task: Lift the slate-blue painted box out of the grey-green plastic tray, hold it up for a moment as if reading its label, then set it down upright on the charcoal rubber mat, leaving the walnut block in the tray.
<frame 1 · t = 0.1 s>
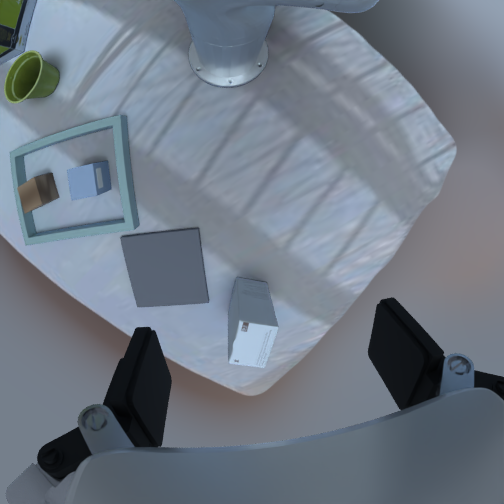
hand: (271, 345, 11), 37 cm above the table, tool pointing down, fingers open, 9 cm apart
mat: (165, 269, 49), on the table
tray: (70, 183, 41), on the table
skincare box: (246, 296, 52), on the table
tea box: (15, 33, 26), on the table
slate box: (97, 177, 42), resting in tray
plant pot: (48, 82, 33), on the table
walnut block: (46, 189, 41), resting in tray
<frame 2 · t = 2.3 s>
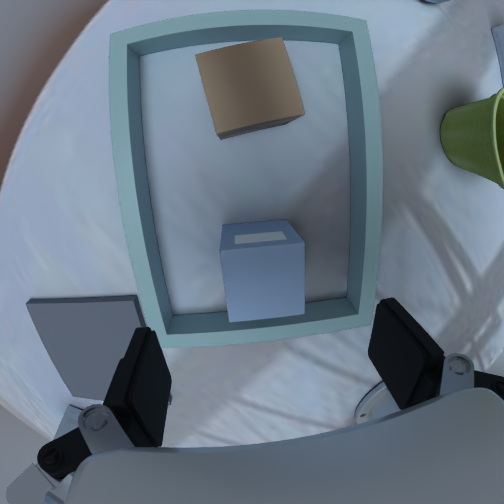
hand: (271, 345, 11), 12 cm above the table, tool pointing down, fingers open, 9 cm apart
mat: (97, 353, 26), on the table
tray: (251, 177, 21), on the table
skincare box: (96, 421, 30), on the table
slate box: (256, 251, 23), resting in tray
plant pot: (457, 137, 20), on the table
walnut block: (245, 100, 19), resting in tray
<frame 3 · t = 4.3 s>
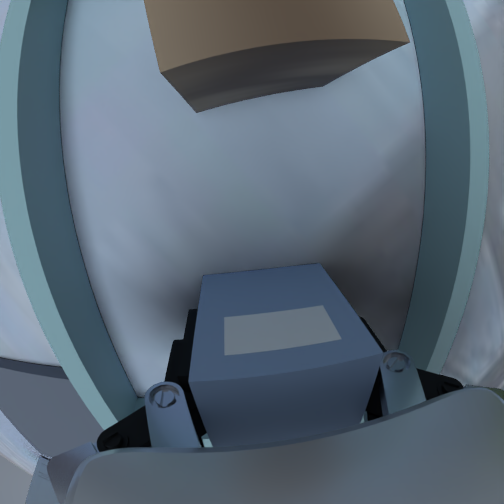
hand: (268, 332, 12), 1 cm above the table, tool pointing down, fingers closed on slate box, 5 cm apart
mat: (54, 421, 15), on the table
tray: (256, 187, 11), on the table
skincare box: (73, 473, 20), on the table
slate box: (265, 318, 13), resting in tray, touching gripper
walnut block: (244, 41, 8), resting in tray
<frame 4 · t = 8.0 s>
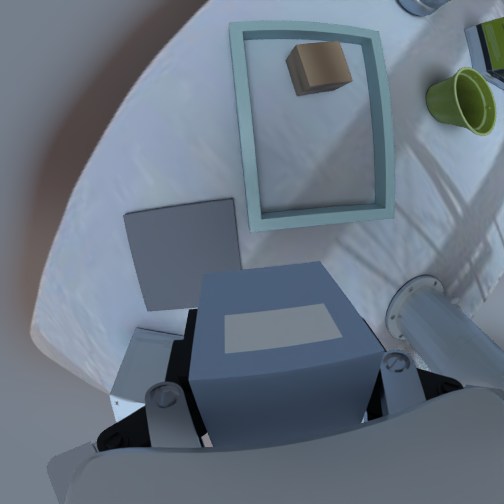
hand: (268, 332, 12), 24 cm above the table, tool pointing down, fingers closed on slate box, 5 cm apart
mat: (185, 257, 36), on the table
tray: (315, 119, 31), on the table
skincare box: (161, 343, 41), on the table
tea box: (490, 63, 27), on the table
slate box: (265, 316, 13), point 23 cm above the table, touching gripper
plastic bottle: (408, 3, 24), on the table
plant pot: (438, 104, 30), on the table
walnut block: (310, 75, 29), resting in tray
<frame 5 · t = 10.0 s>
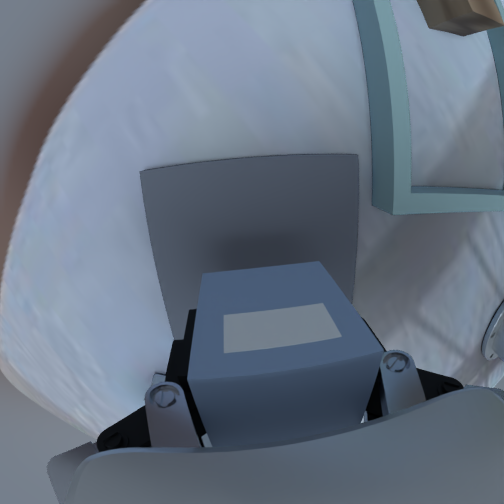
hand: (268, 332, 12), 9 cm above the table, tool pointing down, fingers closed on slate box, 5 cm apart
mat: (257, 258, 20), on the table
tray: (451, 64, 15), on the table
slate box: (265, 316, 13), point 7 cm above the table, touching gripper
walnut block: (437, 9, 13), resting in tray
when the fingers open (3 cm above the table, at t = 11.6 s): slate box drops 1 cm, resting on mat.
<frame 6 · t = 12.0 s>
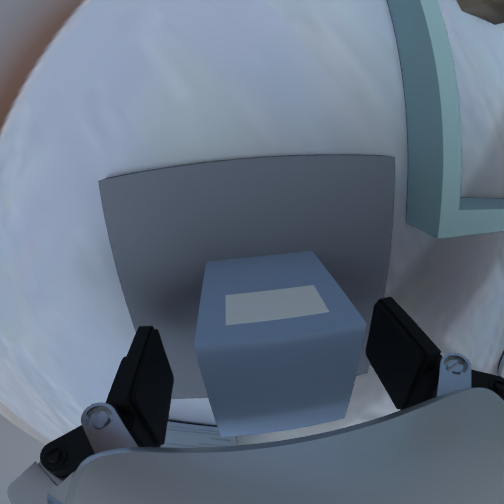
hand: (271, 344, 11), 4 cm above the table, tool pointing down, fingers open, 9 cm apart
mat: (259, 293, 15), on the table
tray: (487, 53, 10), on the table
skincare box: (187, 435, 20), on the table
slate box: (263, 302, 14), point 1 cm above the table, touching mat
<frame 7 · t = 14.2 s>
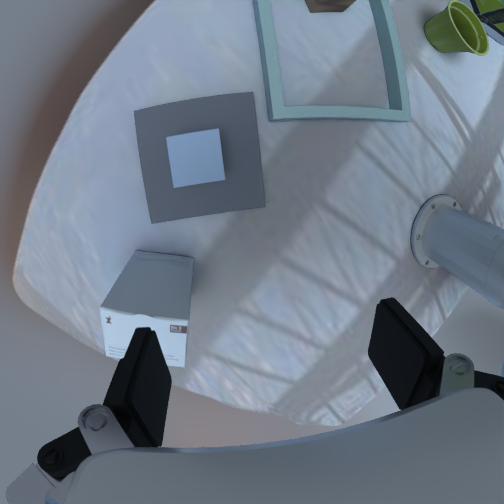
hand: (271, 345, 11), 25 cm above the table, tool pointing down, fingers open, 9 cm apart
mat: (199, 156, 31), on the table
tray: (328, 32, 27), on the table
skincare box: (165, 271, 36), on the table
tea box: (477, 14, 24), on the table
slate box: (199, 156, 30), point 1 cm above the table, touching mat
plant pot: (435, 37, 27), on the table
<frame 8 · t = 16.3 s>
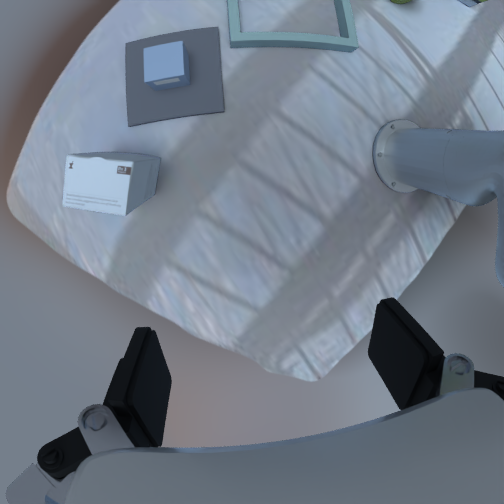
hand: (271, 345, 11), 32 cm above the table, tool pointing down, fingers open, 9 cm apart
mat: (172, 74, 33), on the table
skincare box: (135, 171, 38), on the table
slate box: (172, 72, 32), point 1 cm above the table, touching mat
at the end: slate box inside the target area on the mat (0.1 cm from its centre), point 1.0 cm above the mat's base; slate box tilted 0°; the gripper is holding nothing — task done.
